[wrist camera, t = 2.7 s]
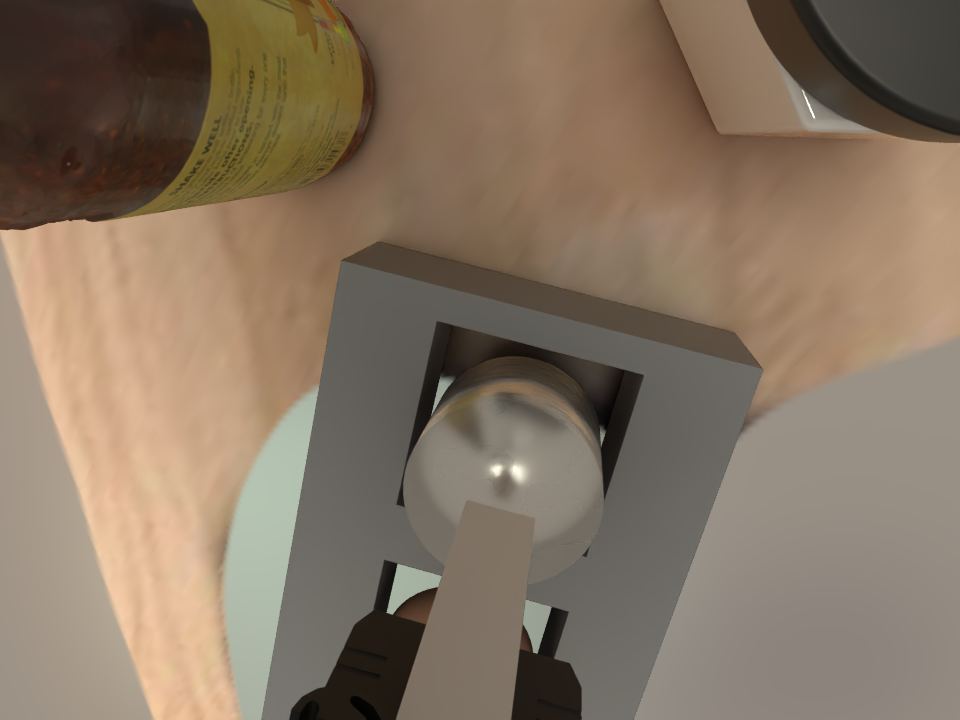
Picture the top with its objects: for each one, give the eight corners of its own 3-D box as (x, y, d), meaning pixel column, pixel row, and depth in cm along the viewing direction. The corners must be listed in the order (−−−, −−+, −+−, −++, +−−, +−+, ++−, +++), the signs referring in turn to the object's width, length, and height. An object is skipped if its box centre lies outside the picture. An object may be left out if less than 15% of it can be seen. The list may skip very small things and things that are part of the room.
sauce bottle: (384, -14, 23) (-649, -812, 4) (378, 197, 24) (-329, 396, 5) (179, -25, 23) (-1580, -741, 4) (188, 180, 25) (-1024, 310, 6)
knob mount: (378, 241, 25) (341, 260, 21) (734, 332, 24) (763, 369, 20) (276, 784, 32) (235, 872, 28) (546, 866, 31) (542, 966, 28)
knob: (453, 337, 22) (425, 379, 18) (620, 381, 21) (628, 433, 18) (418, 487, 23) (386, 556, 19) (575, 530, 23) (573, 608, 19)
